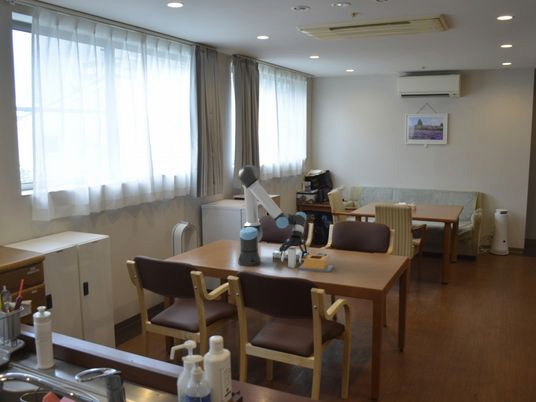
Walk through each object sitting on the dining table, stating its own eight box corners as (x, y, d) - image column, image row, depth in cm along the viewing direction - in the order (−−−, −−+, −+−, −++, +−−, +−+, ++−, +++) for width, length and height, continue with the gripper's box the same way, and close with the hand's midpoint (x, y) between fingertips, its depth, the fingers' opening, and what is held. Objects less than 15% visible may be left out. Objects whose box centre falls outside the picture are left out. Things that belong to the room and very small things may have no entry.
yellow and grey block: (298, 269, 318) (298, 258, 317) (303, 265, 329) (303, 253, 328) (329, 272, 311) (329, 260, 310) (333, 267, 323) (333, 256, 322)
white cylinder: (288, 267, 324) (288, 249, 323) (290, 265, 328) (289, 247, 327) (294, 267, 323) (294, 249, 321) (295, 266, 327) (295, 248, 325)
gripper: (315, 237, 334) (309, 265, 321) (281, 235, 342) (274, 263, 329) (313, 230, 328) (307, 259, 316) (279, 229, 336) (271, 257, 324)
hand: (290, 261), depth 323 cm, fingers open, 11 cm apart
